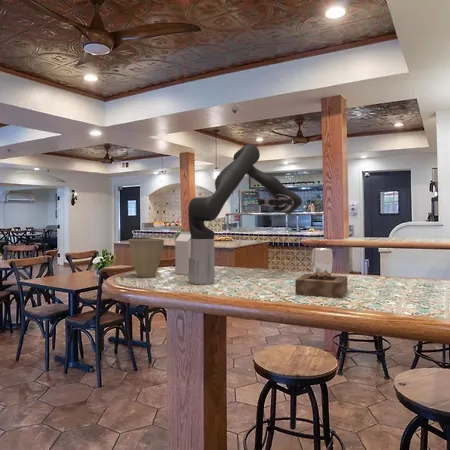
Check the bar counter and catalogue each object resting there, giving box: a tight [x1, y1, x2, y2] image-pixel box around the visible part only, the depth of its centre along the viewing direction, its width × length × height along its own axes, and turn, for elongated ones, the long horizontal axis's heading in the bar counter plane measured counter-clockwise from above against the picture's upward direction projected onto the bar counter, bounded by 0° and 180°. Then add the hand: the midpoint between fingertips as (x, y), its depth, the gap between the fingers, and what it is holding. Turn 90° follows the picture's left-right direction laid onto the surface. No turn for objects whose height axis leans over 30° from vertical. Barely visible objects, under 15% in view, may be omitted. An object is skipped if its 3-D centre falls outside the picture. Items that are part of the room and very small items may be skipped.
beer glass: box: [311, 247, 334, 280], centre depth 135 cm, size 7×7×15 cm
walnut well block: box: [294, 273, 348, 299], centre depth 135 cm, size 15×15×5 cm
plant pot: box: [128, 238, 165, 279], centre depth 168 cm, size 15×15×16 cm
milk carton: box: [174, 231, 191, 276], centre depth 176 cm, size 7×7×19 cm
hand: (270, 201), depth 159 cm, fingers open, 8 cm apart
